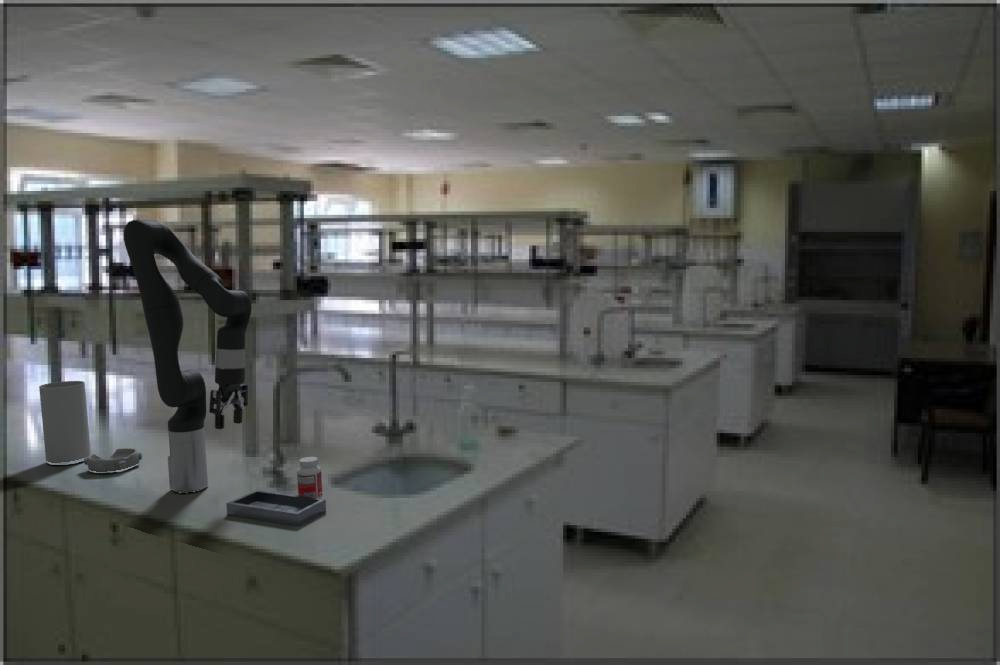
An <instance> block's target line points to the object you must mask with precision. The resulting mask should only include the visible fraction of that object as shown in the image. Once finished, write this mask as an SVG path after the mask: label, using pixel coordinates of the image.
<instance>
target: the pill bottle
mask: <svg viewBox="0 0 1000 665" xmlns="http://www.w3.org/2000/svg"><path fill="white" fill-rule="evenodd" d="M318 464H319V460H318V457H317V456H306V457H302V458H300V459H299V466H300V467H298V468H297V470H296V471H297V472H296V474H297V493H298V496H305V497H312V498H319V499H323V496H324V495H323V482H322V481H323V479H322V477H323V476H322V468H321V467H320V466H319V465H318Z"/></svg>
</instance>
